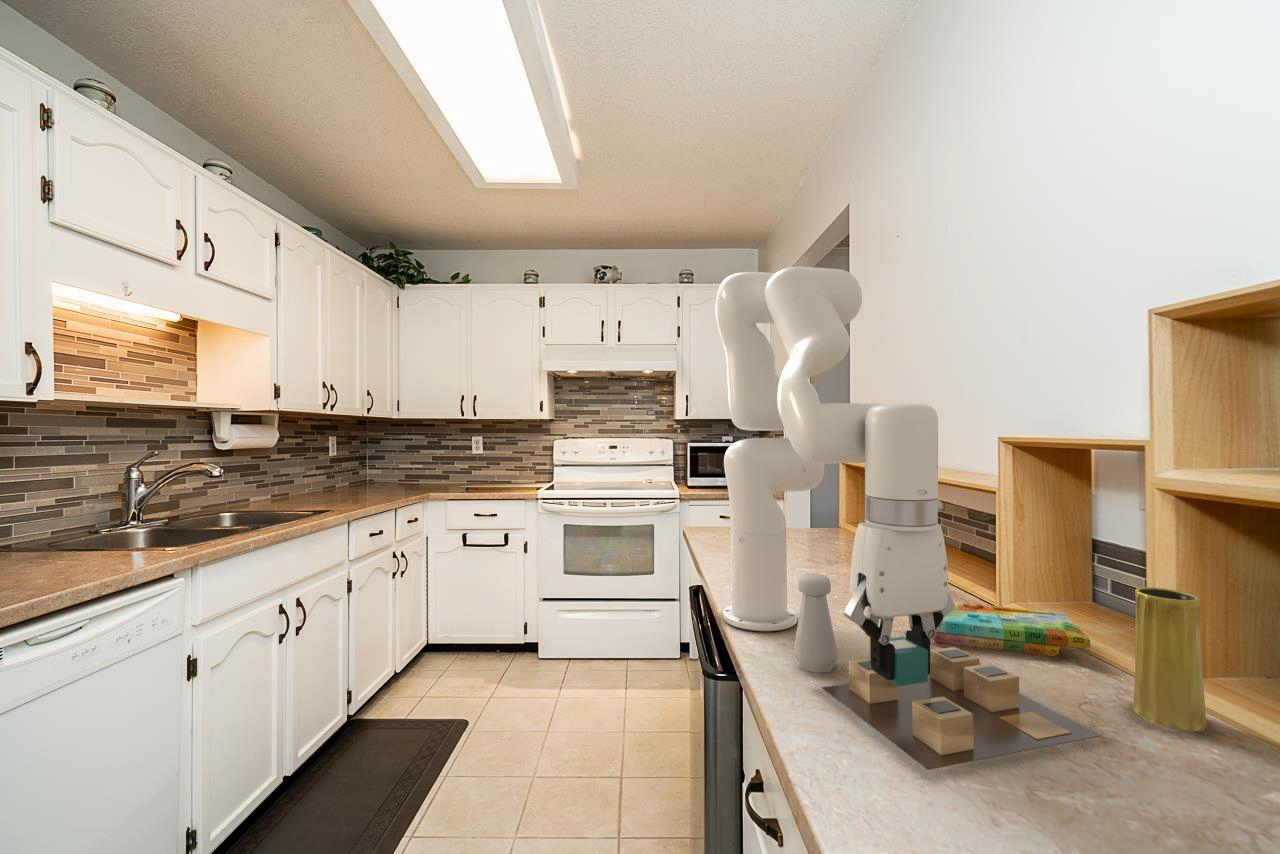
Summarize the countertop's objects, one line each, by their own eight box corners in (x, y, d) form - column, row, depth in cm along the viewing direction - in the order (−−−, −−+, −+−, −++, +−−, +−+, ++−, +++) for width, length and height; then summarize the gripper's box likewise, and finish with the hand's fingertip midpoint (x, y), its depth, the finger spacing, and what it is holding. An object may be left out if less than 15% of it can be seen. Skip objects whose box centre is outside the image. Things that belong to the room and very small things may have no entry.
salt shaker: (840, 665, 79) (839, 572, 79) (835, 682, 74) (834, 582, 74) (797, 658, 82) (796, 568, 82) (790, 674, 76) (789, 578, 77)
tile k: (912, 735, 60) (911, 700, 60) (943, 729, 61) (943, 695, 61) (941, 755, 56) (940, 718, 56) (974, 749, 57) (973, 712, 57)
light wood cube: (849, 689, 71) (848, 659, 71) (876, 685, 72) (876, 656, 72) (869, 704, 67) (869, 672, 67) (898, 699, 68) (898, 668, 68)
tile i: (929, 677, 74) (929, 649, 74) (954, 674, 75) (954, 645, 75) (953, 691, 70) (953, 661, 70) (980, 687, 71) (979, 657, 71)
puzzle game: (921, 594, 96) (1064, 607, 88) (922, 622, 96) (1065, 638, 88) (926, 615, 85) (1089, 632, 78) (927, 646, 85) (1090, 667, 78)
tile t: (963, 696, 68) (963, 666, 68) (990, 692, 69) (989, 662, 69) (991, 712, 64) (991, 680, 64) (1019, 707, 65) (1019, 675, 65)
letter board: (821, 692, 71) (820, 686, 71) (964, 671, 77) (964, 666, 77) (927, 775, 54) (927, 768, 54) (1102, 741, 59) (1102, 734, 59)
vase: (1215, 742, 59) (1213, 604, 59) (1138, 726, 62) (1135, 596, 62) (1197, 716, 64) (1195, 590, 64) (1127, 703, 67) (1125, 583, 67)
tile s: (873, 670, 66) (873, 639, 66) (902, 666, 67) (902, 635, 67) (897, 686, 62) (897, 653, 62) (927, 681, 63) (928, 649, 63)
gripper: (936, 504, 70) (936, 651, 70) (816, 510, 66) (816, 667, 66) (988, 514, 63) (987, 678, 63) (857, 522, 58) (856, 697, 59)
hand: (900, 670), depth 65 cm, fingers closed on tile s, 4 cm apart
